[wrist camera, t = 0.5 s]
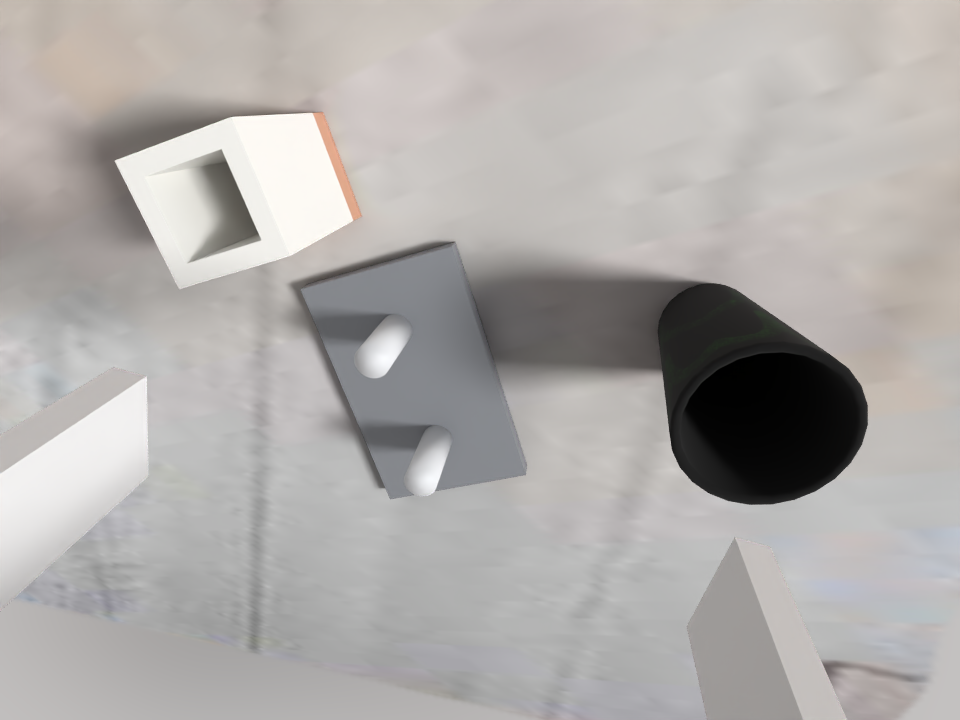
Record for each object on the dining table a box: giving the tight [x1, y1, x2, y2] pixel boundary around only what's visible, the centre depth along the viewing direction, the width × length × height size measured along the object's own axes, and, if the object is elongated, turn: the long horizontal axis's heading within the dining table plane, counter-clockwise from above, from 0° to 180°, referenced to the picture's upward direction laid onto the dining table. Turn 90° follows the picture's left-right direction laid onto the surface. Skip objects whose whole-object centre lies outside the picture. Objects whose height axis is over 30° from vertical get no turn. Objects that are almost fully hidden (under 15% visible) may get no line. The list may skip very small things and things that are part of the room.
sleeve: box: [115, 112, 361, 289], centre depth 31 cm, size 6×6×10 cm
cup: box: [658, 284, 868, 505], centre depth 30 cm, size 8×8×12 cm
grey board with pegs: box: [300, 242, 527, 499], centre depth 37 cm, size 16×10×6 cm, turn 17°
